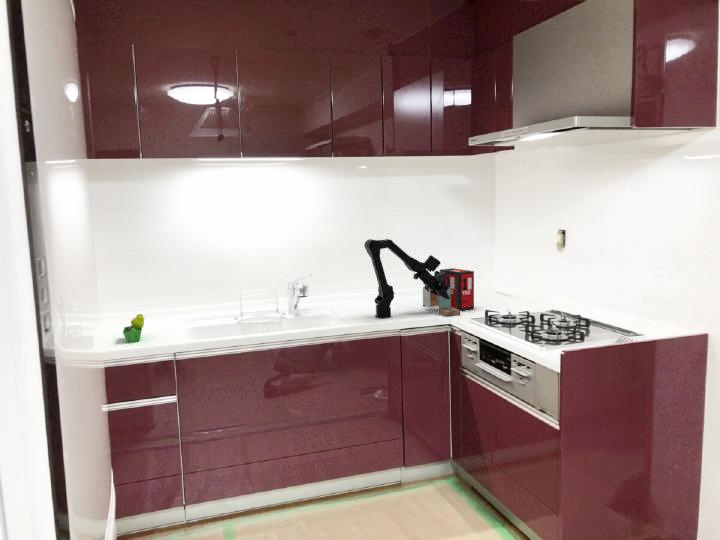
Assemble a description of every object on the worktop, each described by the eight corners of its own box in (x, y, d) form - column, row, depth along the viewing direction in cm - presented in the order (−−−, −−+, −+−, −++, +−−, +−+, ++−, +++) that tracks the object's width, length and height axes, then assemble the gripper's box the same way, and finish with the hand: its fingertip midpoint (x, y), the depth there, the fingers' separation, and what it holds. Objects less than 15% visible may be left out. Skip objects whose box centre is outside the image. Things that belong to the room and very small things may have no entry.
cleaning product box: (440, 306, 314) (439, 269, 312) (452, 304, 319) (452, 268, 316) (460, 311, 300) (460, 272, 298) (473, 309, 305) (473, 271, 302)
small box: (430, 307, 313) (429, 287, 312) (422, 305, 318) (422, 286, 316) (440, 305, 318) (440, 286, 317) (432, 303, 323) (432, 285, 321)
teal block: (442, 312, 300) (442, 287, 299) (438, 310, 304) (438, 286, 303) (450, 311, 302) (450, 287, 300) (446, 309, 306) (446, 286, 304)
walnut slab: (445, 316, 289) (445, 311, 289) (438, 313, 296) (438, 308, 296) (460, 315, 291) (460, 310, 291) (452, 312, 299) (452, 307, 299)
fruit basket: (125, 337, 264) (123, 313, 262) (146, 335, 267) (144, 311, 265) (123, 343, 253) (121, 318, 252) (145, 341, 256) (143, 316, 254)
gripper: (445, 268, 290) (465, 289, 295) (429, 264, 308) (448, 283, 312) (431, 285, 289) (451, 305, 293) (415, 280, 306) (435, 299, 311)
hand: (447, 298), depth 303 cm, fingers closed on teal block, 4 cm apart
